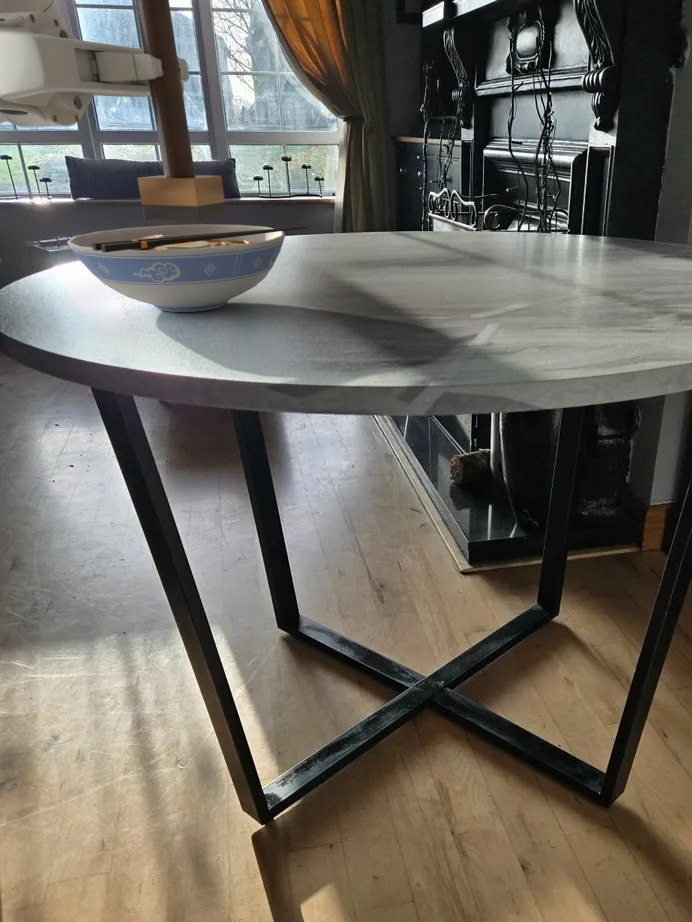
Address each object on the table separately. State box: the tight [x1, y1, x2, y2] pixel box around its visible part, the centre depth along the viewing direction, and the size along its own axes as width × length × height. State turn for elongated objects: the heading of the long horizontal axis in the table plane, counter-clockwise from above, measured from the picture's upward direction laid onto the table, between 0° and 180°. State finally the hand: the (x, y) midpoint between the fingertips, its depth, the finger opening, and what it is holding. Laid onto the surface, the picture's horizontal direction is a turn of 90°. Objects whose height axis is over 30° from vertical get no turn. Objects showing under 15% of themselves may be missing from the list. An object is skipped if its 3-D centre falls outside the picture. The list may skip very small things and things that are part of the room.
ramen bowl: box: [66, 223, 309, 313], centre depth 86 cm, size 25×23×8 cm
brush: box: [134, 0, 228, 222], centre depth 71 cm, size 6×5×20 cm
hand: (171, 68), depth 69 cm, fingers closed on brush, 3 cm apart
